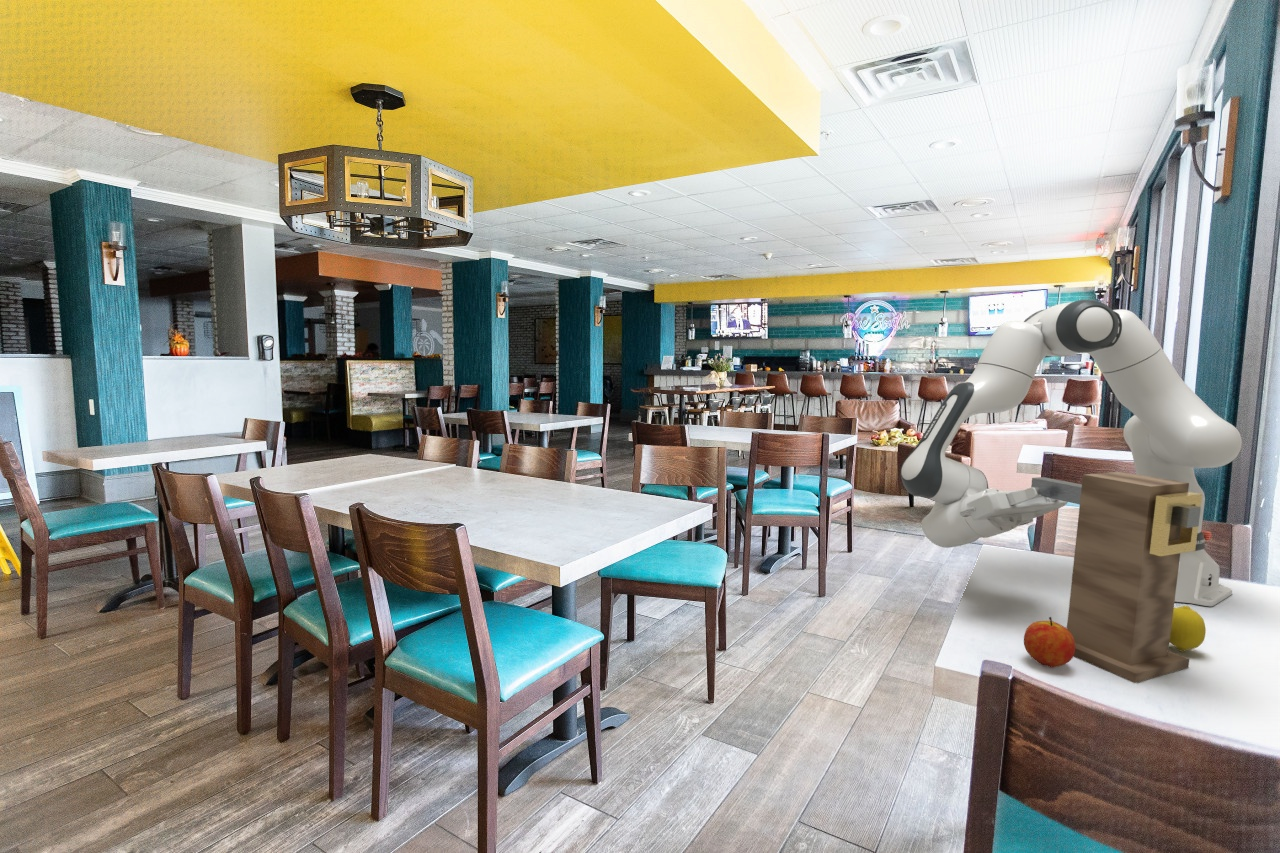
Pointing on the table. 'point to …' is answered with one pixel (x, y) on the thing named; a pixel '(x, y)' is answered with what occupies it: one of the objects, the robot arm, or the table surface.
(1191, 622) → the lemon
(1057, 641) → the fruit
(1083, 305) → the robot arm
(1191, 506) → the shaft
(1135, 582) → the block
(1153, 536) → the frame
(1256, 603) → the table surface
